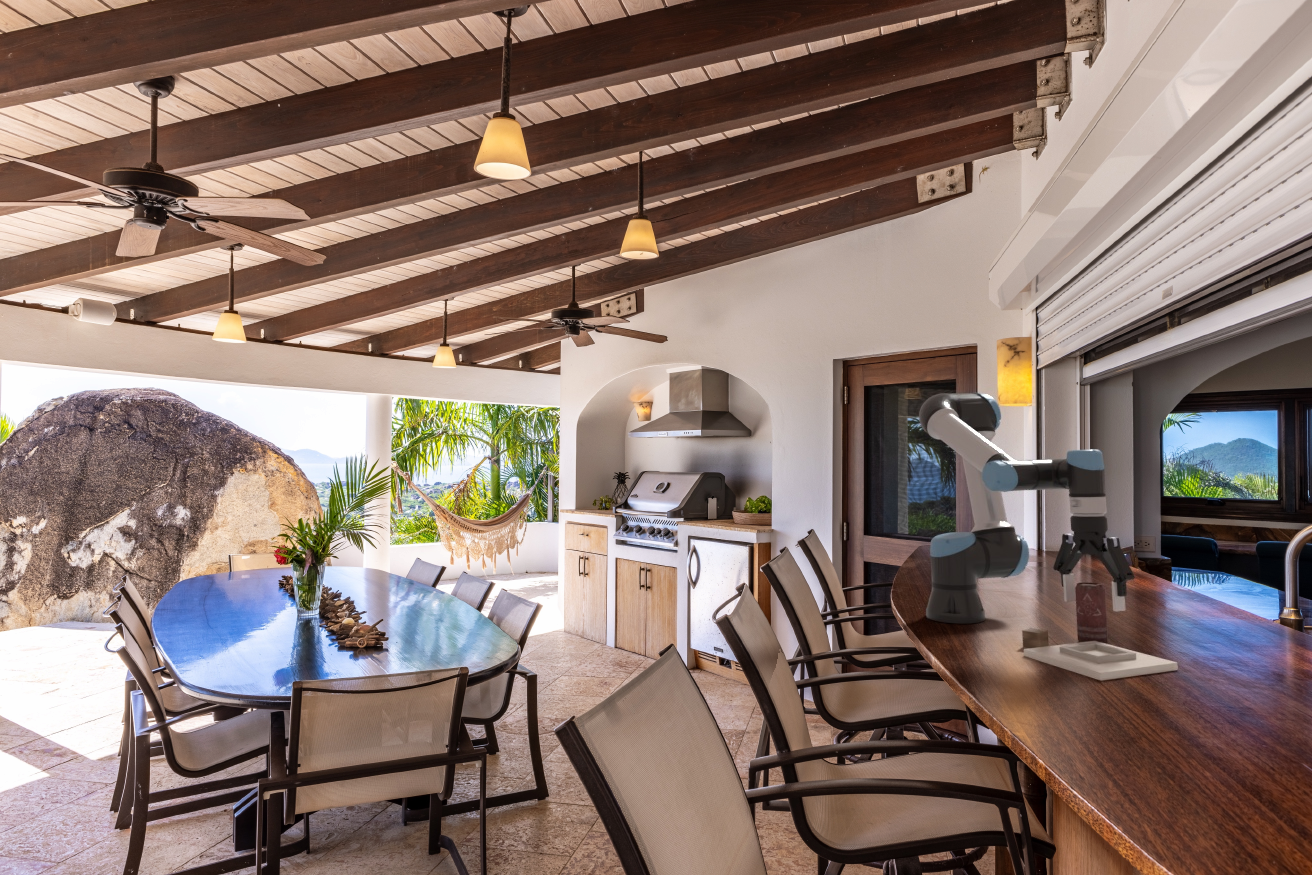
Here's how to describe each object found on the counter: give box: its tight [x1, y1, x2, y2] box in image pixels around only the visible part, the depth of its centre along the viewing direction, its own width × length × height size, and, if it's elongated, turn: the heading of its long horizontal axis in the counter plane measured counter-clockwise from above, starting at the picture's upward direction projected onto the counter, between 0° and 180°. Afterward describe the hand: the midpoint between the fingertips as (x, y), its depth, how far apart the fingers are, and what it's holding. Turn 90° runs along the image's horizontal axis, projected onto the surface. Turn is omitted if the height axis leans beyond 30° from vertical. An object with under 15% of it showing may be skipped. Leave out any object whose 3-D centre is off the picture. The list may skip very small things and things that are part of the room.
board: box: [1023, 641, 1178, 681], centre depth 158 cm, size 20×20×3 cm
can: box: [1075, 582, 1109, 644], centre depth 174 cm, size 6×6×14 cm
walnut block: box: [1021, 627, 1050, 649], centre depth 172 cm, size 4×4×4 cm
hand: (1093, 605), depth 173 cm, fingers open, 13 cm apart
